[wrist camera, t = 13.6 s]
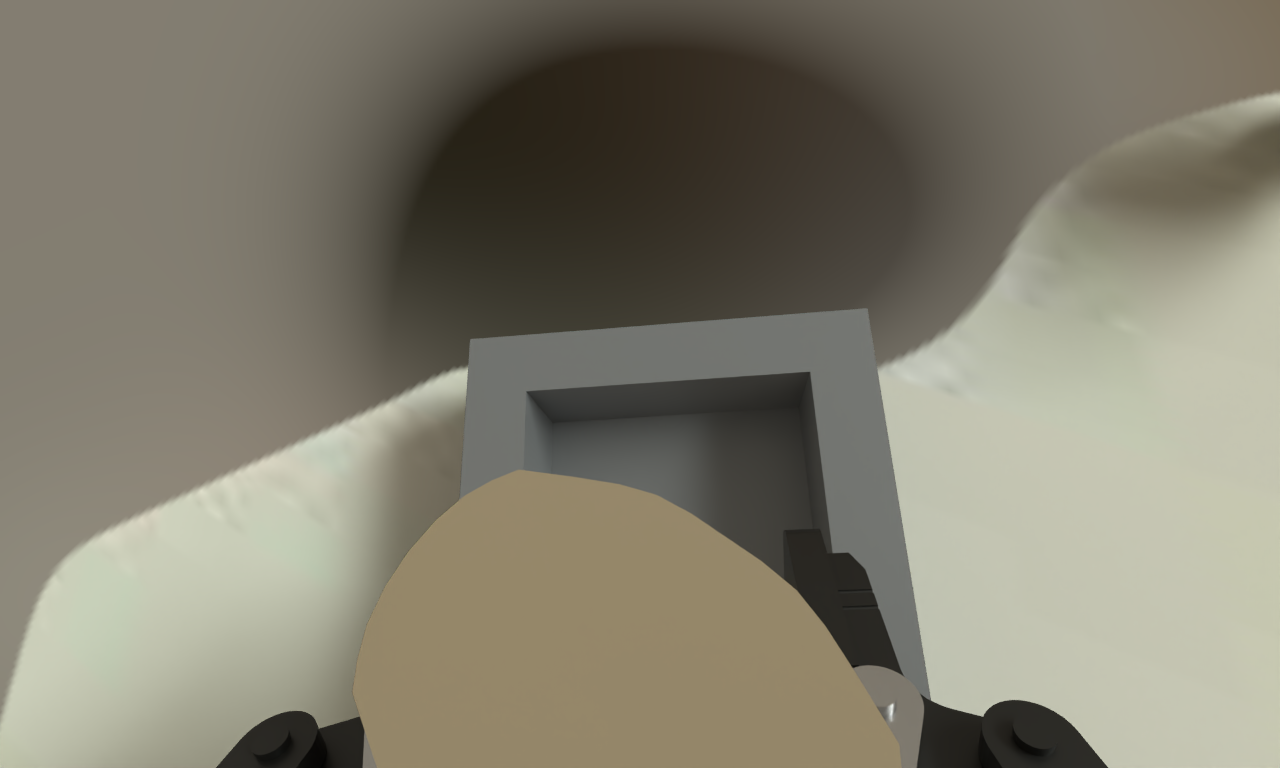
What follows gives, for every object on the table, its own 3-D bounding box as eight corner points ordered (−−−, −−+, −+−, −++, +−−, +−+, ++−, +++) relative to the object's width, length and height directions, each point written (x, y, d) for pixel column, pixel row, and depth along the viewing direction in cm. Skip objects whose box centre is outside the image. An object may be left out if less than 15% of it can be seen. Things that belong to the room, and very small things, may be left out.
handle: (733, 797, 20) (735, 1185, 6) (566, 662, 22) (278, 721, 8) (817, 656, 21) (982, 710, 7) (650, 538, 23) (523, 400, 9)
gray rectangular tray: (942, 1036, 18) (1004, 1154, 14) (483, 1021, 20) (417, 1125, 16) (844, 362, 25) (867, 308, 21) (510, 385, 27) (470, 339, 23)
